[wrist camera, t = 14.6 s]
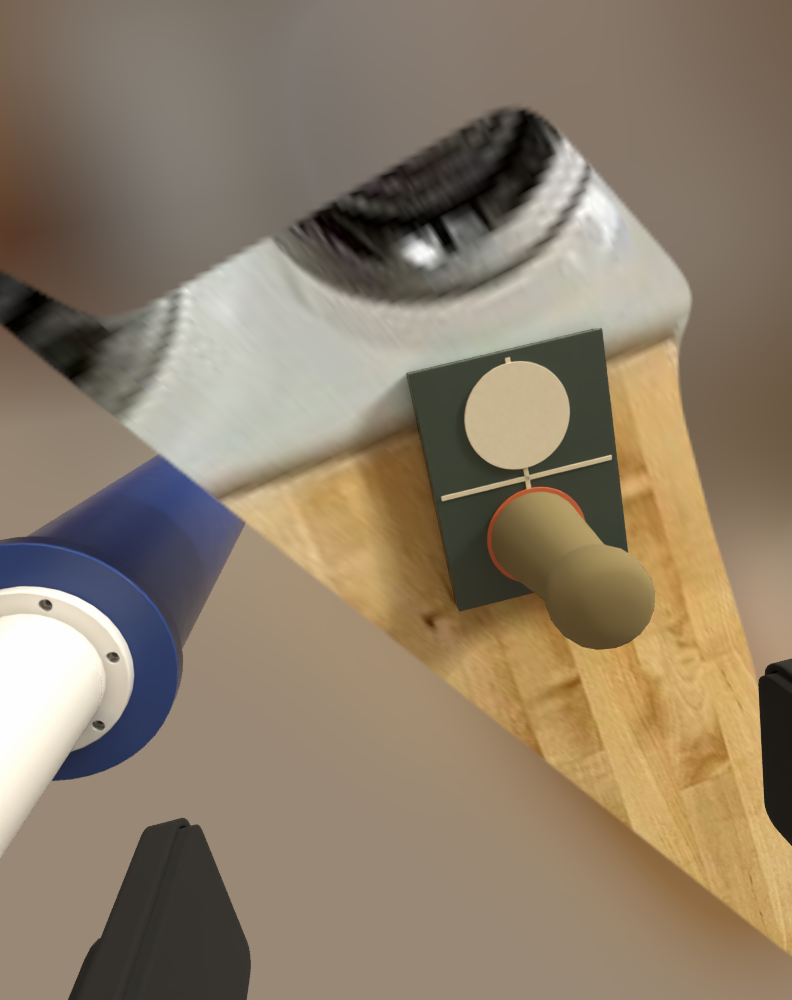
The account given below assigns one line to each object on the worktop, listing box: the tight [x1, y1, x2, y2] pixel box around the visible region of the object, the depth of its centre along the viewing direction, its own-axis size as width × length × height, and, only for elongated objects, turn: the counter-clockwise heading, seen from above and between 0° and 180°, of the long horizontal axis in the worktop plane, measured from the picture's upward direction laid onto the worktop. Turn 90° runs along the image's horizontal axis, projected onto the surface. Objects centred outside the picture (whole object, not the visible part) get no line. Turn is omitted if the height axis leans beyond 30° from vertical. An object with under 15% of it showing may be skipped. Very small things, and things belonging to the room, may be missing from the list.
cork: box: [492, 492, 655, 650], centre depth 32 cm, size 6×6×11 cm
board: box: [407, 328, 628, 611], centre depth 37 cm, size 12×16×1 cm
